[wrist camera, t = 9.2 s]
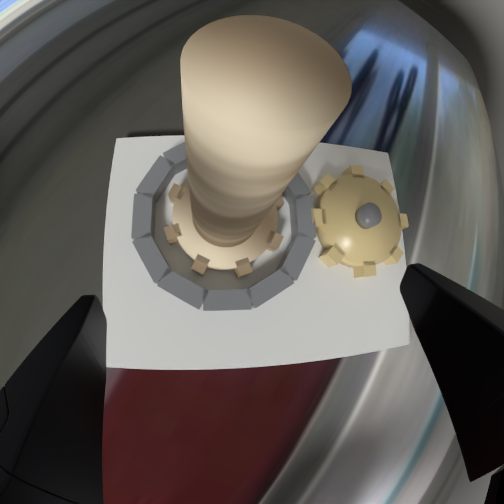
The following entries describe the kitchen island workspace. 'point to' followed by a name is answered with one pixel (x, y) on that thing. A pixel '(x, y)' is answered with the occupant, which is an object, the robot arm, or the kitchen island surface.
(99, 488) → the robot arm
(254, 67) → the disc
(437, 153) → the kitchen island surface
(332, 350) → the gear board
